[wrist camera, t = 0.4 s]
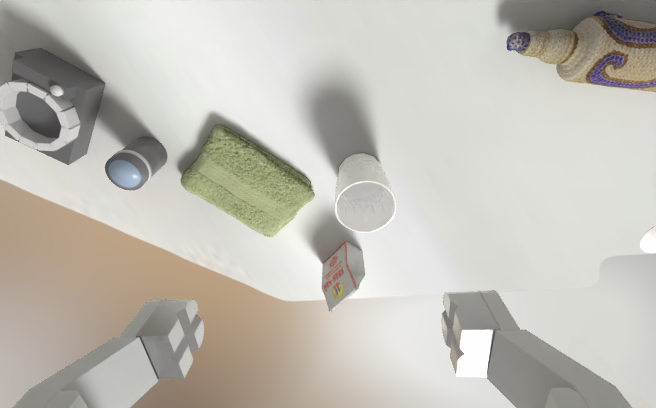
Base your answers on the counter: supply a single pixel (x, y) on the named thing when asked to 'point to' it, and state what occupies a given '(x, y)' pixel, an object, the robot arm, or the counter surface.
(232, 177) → the washcloth
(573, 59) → the decorative bottle
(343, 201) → the white cup
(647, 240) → the champagne flute
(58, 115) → the camera body
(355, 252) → the white food carton
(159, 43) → the counter surface
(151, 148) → the lens
